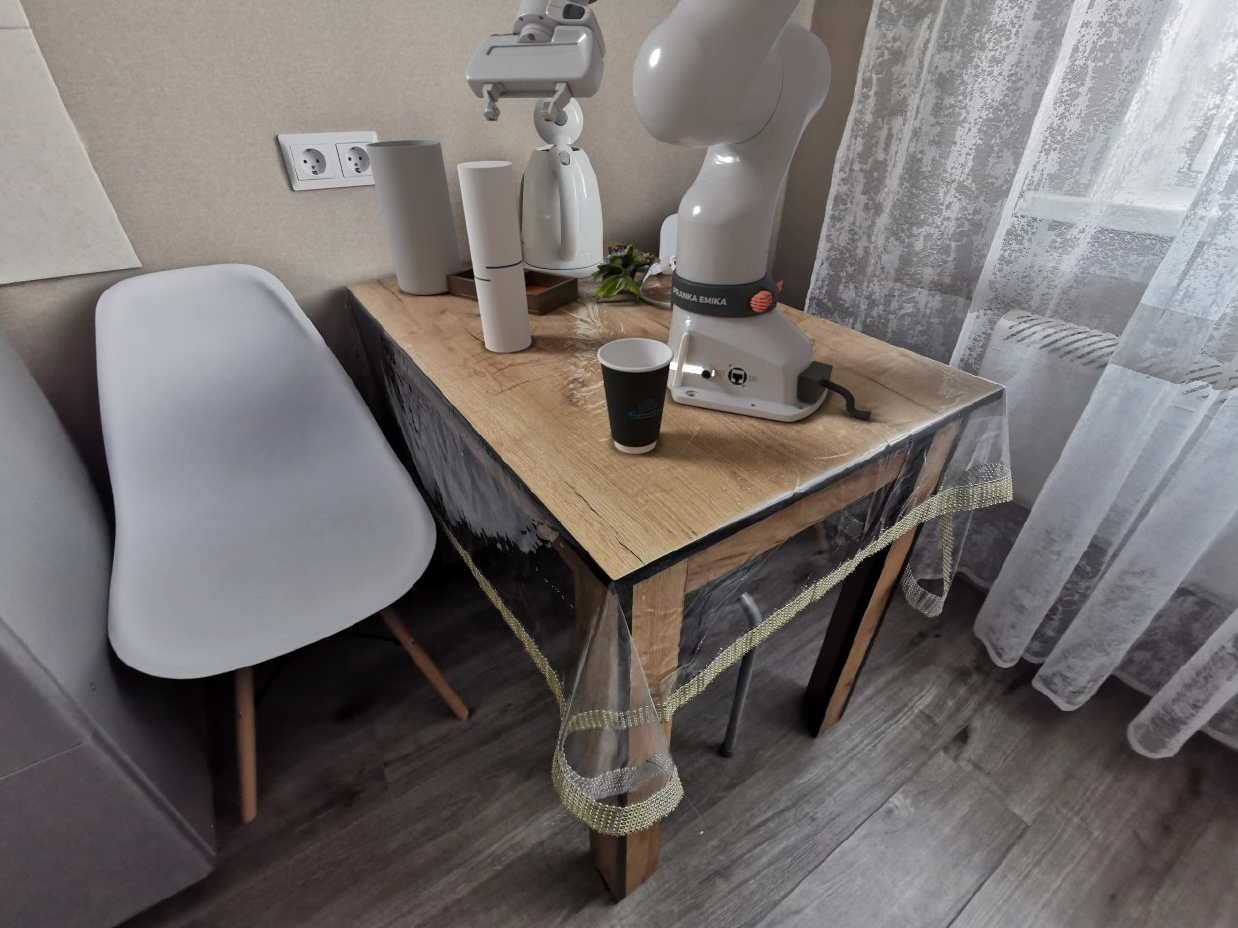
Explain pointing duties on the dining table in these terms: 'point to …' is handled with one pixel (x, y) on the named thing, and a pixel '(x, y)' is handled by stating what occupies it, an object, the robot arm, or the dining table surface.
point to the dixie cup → (635, 390)
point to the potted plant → (621, 271)
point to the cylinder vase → (416, 213)
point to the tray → (540, 287)
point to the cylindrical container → (496, 253)
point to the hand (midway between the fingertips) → (518, 118)
